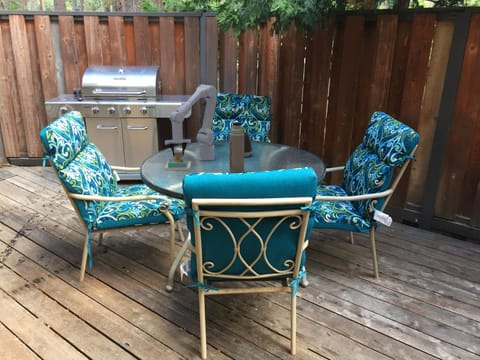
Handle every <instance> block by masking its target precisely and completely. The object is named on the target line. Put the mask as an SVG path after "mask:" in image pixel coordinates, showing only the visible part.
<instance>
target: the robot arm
mask: <svg viewBox="0 0 480 360" xmlns="http://www.w3.org/2000/svg"><path fill="white" fill-rule="evenodd" d="M217 92H218V91H217V89H216V87H215V86H214V85H209V84H208V85H207V84H199V85H198V87H196V91H194V93H193V94H192V95H191V96H190V98H189V99H188V100H187V101H183V102H181V104H180V105H179V106H178V108H176V109H175V110H174V111H172V112H171V113H170V114H169V120H170V121H171V128H172V132H171V133H172V139H167V140H164V144H165V145H169V147H170V149H171V151H172V157H173V158H174V157H175V154H174V153H175V145H176V144H181V152H182V154H183V157H184V155H185V151H186V148H187V146H188V144H191V143H192V142H191V141H192V140H191V139H190V138H188V139H186V138H184V137H183V136H184V135H183V122H184V120H185V117H186V115H187V114H188V113H189V112H190V111H191V110H192V107H193V105H194V104H196V102H198V101H199V100H200V99H201V98H204V100H205V102H207V104H206V109H205V108H204V109H205V110H204V116H203V120H202V125H201V128H200V129H199V130H198V133H197V135H196V141H197V142H198V147H199V148H198V149H199V153H198V154H199V155H198V161H214V160H215V157H216V153H215V144H213V143H214V141H215V140H214V139H215V137H214V131H213V129H212V130H211V127H212V128H213V121H214V115H215V112H216V109H215V106H216V103H217ZM214 111H215V112H214Z"/></svg>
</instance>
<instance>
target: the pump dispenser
mask: <svg viewBox="0 0 480 360" xmlns="http://www.w3.org/2000/svg"><path fill="white" fill-rule="evenodd" d="M243 133H244V158H248V157H249V156H250V155H251V154H252V151H253V144H252V140H251V136H250V134H249V133H248V132H246V131H243Z"/></svg>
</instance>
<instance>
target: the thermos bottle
mask: <svg viewBox="0 0 480 360" xmlns="http://www.w3.org/2000/svg"><path fill="white" fill-rule="evenodd" d="M231 127H232V128H231V129H230V132H229V174H230V173H242V172H244V173H245V157H244V133H243V132H244V128H243V127H242V122H240V121H239V122H237V121H236V122H232V126H231Z"/></svg>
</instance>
